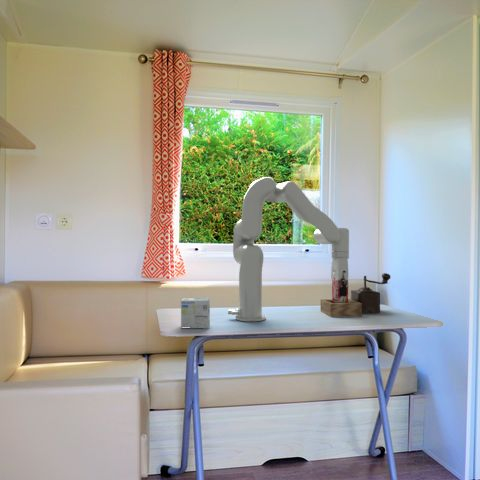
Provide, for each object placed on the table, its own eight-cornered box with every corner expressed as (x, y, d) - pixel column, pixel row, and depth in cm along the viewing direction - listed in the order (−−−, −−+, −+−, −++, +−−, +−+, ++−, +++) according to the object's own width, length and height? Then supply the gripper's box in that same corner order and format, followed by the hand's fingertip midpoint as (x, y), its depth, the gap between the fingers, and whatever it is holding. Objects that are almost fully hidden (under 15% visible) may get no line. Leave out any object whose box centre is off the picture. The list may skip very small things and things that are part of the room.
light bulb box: (209, 325, 162) (209, 297, 162) (209, 328, 155) (209, 300, 155) (182, 325, 161) (182, 297, 161) (180, 329, 155) (180, 300, 155)
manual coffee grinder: (359, 313, 186) (359, 273, 186) (350, 309, 197) (350, 271, 197) (392, 313, 188) (392, 273, 188) (381, 309, 199) (381, 271, 199)
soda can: (348, 303, 182) (348, 276, 182) (332, 302, 184) (332, 275, 184) (347, 301, 189) (347, 274, 189) (331, 300, 191) (332, 274, 191)
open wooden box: (330, 316, 179) (330, 304, 179) (320, 311, 193) (320, 299, 193) (361, 316, 180) (361, 303, 180) (349, 310, 194) (349, 298, 194)
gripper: (325, 254, 195) (325, 292, 195) (339, 256, 177) (338, 297, 177) (341, 254, 196) (341, 292, 196) (355, 256, 178) (355, 297, 178)
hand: (340, 294), depth 186 cm, fingers closed on soda can, 6 cm apart
